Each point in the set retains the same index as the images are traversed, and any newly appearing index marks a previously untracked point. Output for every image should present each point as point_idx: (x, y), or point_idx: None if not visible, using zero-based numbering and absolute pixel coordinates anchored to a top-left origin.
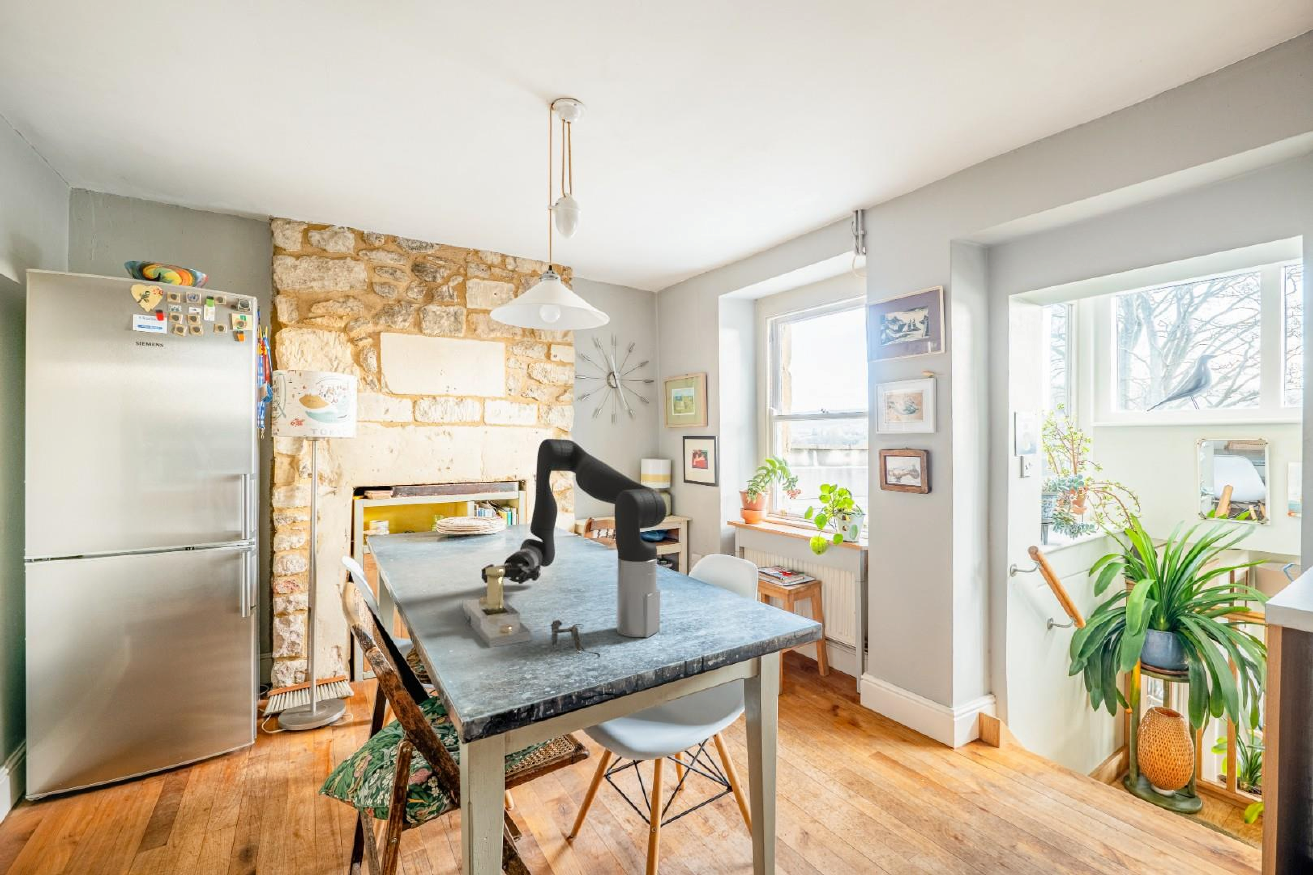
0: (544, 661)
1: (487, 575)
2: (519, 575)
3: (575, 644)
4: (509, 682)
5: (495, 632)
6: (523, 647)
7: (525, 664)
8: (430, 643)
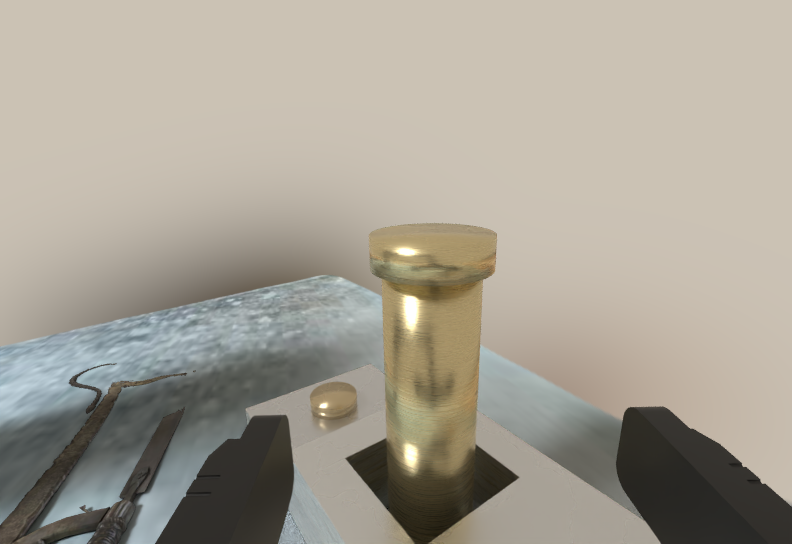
0: (226, 351)
1: (631, 415)
2: (277, 416)
3: (102, 417)
4: (296, 308)
5: (368, 391)
6: (274, 395)
7: (269, 341)
8: (560, 393)
